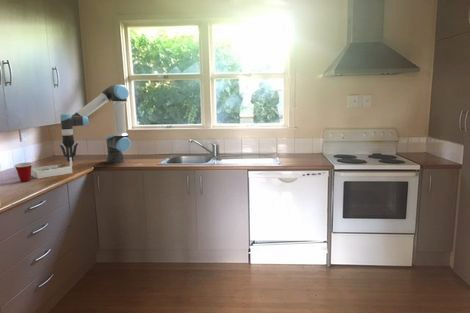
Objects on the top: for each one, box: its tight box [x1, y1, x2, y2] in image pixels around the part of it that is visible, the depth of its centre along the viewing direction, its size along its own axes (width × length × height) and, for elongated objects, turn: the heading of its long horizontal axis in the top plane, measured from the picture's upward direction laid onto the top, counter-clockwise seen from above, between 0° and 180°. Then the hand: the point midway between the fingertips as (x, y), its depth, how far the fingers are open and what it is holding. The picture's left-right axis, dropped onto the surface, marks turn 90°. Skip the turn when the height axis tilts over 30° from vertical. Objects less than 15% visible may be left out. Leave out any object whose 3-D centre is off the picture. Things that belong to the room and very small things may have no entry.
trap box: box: [31, 164, 73, 179], centre depth 266 cm, size 24×16×5 cm, turn 134°
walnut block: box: [57, 162, 69, 168], centre depth 269 cm, size 6×6×4 cm
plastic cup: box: [14, 162, 33, 183], centre depth 244 cm, size 11×11×12 cm
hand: (70, 165), depth 272 cm, fingers closed
